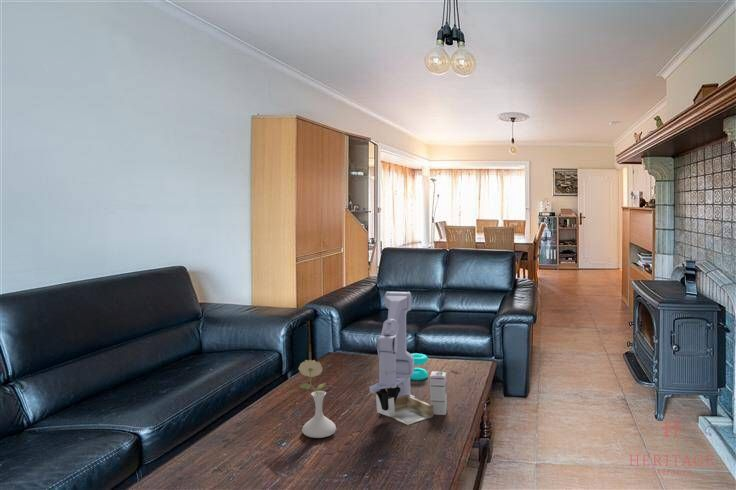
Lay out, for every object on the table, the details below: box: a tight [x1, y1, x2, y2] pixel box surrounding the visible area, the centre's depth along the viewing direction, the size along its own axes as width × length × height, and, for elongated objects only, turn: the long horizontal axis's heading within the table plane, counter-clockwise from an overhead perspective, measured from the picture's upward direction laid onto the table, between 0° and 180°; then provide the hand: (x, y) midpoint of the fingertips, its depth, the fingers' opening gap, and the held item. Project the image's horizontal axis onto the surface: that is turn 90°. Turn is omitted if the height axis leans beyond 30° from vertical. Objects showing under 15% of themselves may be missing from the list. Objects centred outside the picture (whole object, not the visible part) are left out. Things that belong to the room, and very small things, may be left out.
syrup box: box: [429, 370, 448, 416], centre depth 181 cm, size 6×6×14 cm
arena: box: [389, 395, 434, 427], centre depth 178 cm, size 15×13×4 cm
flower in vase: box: [297, 359, 337, 439], centre depth 163 cm, size 13×11×25 cm
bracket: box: [375, 394, 395, 418], centre depth 172 cm, size 7×5×6 cm
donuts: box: [410, 352, 429, 381], centre depth 221 cm, size 10×10×10 cm
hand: (388, 408), depth 170 cm, fingers closed on bracket, 2 cm apart
